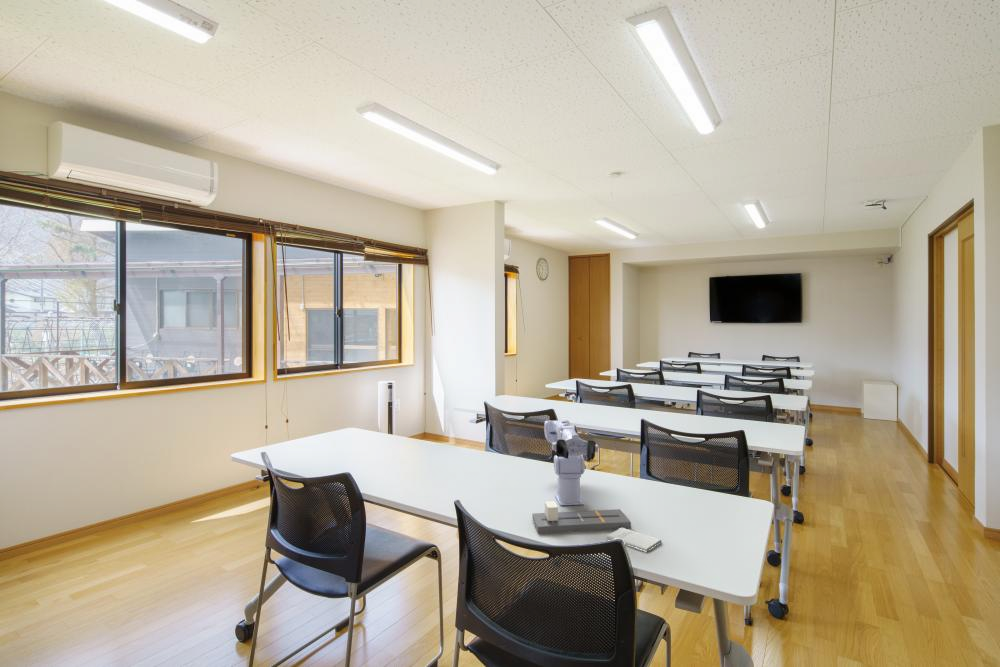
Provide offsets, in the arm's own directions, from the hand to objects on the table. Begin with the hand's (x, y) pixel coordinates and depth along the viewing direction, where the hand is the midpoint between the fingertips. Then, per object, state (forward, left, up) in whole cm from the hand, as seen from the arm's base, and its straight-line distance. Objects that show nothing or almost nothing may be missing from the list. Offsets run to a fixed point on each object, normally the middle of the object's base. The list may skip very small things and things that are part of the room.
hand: (580, 455), depth 154 cm
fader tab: (-1, -9, -19) cm, 21 cm away
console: (-1, 0, -21) cm, 21 cm away
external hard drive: (+12, +12, -22) cm, 28 cm away
